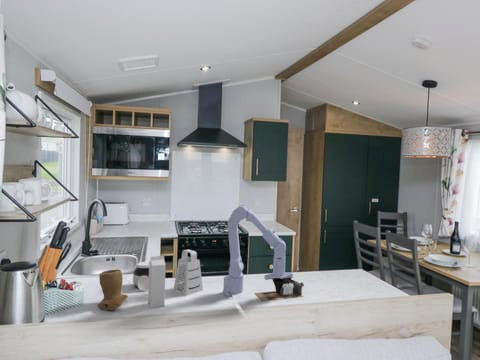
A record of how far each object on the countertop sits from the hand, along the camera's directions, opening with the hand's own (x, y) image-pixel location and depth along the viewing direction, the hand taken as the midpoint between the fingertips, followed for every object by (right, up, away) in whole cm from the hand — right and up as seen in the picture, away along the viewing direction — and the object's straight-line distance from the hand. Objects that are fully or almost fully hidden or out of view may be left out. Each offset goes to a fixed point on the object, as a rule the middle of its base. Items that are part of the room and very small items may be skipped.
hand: (278, 293), depth 160 cm
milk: (-57, -1, -13) cm, 58 cm away
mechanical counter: (+9, -2, +16) cm, 19 cm away
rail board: (0, -2, 0) cm, 2 cm away
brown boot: (-76, 0, -15) cm, 78 cm away
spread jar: (-68, 0, +7) cm, 68 cm away
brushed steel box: (+5, -1, +1) cm, 5 cm away
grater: (-45, -1, +6) cm, 45 cm away
